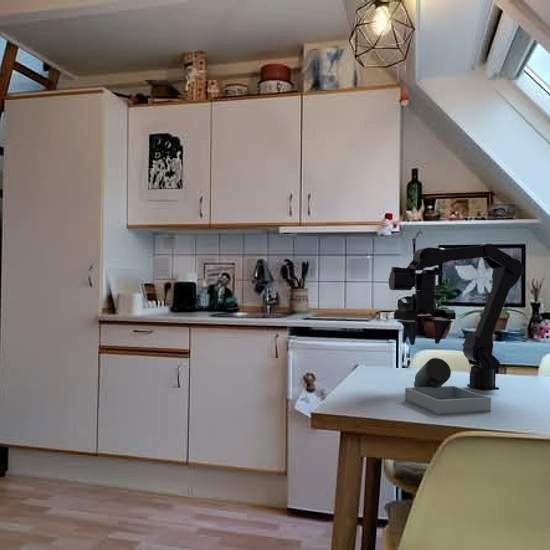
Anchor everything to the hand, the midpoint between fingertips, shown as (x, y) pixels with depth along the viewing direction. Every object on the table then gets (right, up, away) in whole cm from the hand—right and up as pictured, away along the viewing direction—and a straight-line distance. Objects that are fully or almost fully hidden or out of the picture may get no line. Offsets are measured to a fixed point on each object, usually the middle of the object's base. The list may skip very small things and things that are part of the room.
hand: (424, 344), depth 152 cm
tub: (-1, -13, -22) cm, 25 cm away
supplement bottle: (-1, -4, -17) cm, 18 cm away
